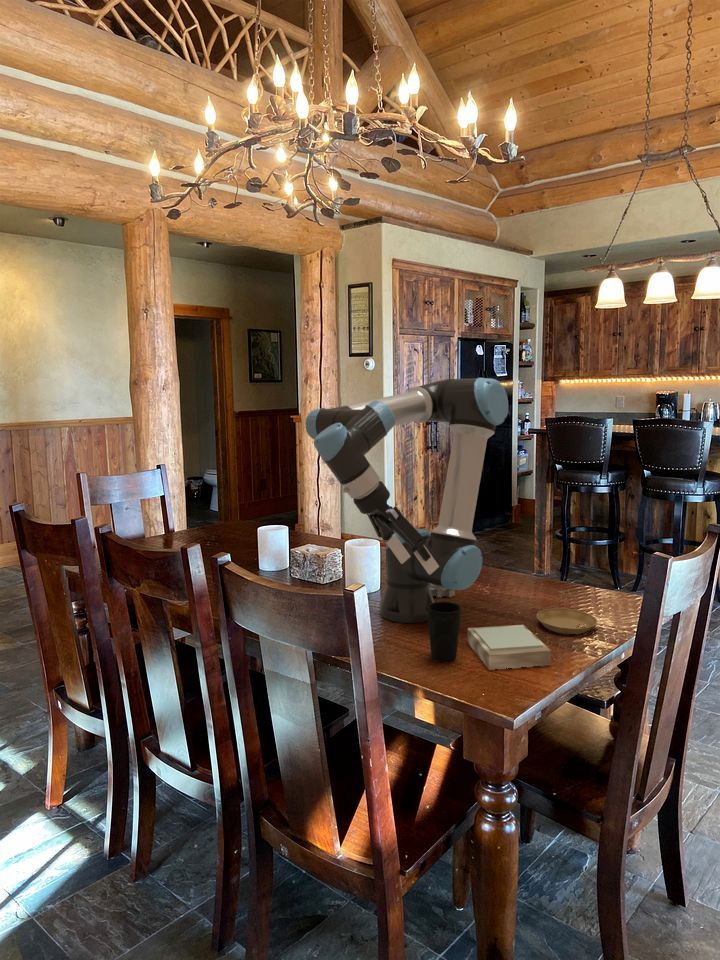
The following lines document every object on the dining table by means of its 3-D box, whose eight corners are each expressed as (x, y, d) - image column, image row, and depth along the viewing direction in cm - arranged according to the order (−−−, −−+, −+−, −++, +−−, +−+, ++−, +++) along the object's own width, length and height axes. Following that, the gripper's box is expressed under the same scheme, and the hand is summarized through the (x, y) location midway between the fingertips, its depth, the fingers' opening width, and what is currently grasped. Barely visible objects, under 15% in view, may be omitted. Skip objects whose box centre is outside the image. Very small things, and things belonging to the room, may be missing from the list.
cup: (459, 651, 151) (460, 601, 150) (461, 665, 144) (462, 613, 142) (426, 650, 152) (426, 601, 150) (426, 664, 145) (426, 612, 143)
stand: (467, 642, 157) (467, 626, 156) (522, 638, 159) (523, 622, 158) (489, 670, 141) (489, 652, 141) (550, 665, 143) (551, 648, 142)
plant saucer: (603, 624, 168) (603, 614, 168) (587, 642, 156) (588, 632, 156) (547, 613, 177) (547, 604, 176) (528, 630, 165) (528, 620, 164)
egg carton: (452, 590, 198) (452, 577, 197) (456, 598, 190) (457, 585, 190) (417, 591, 197) (417, 578, 197) (420, 599, 190) (420, 585, 189)
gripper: (333, 496, 149) (383, 566, 155) (376, 505, 126) (434, 587, 132) (357, 476, 151) (406, 546, 157) (404, 482, 128) (460, 563, 134)
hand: (419, 565), depth 144 cm, fingers open, 13 cm apart
